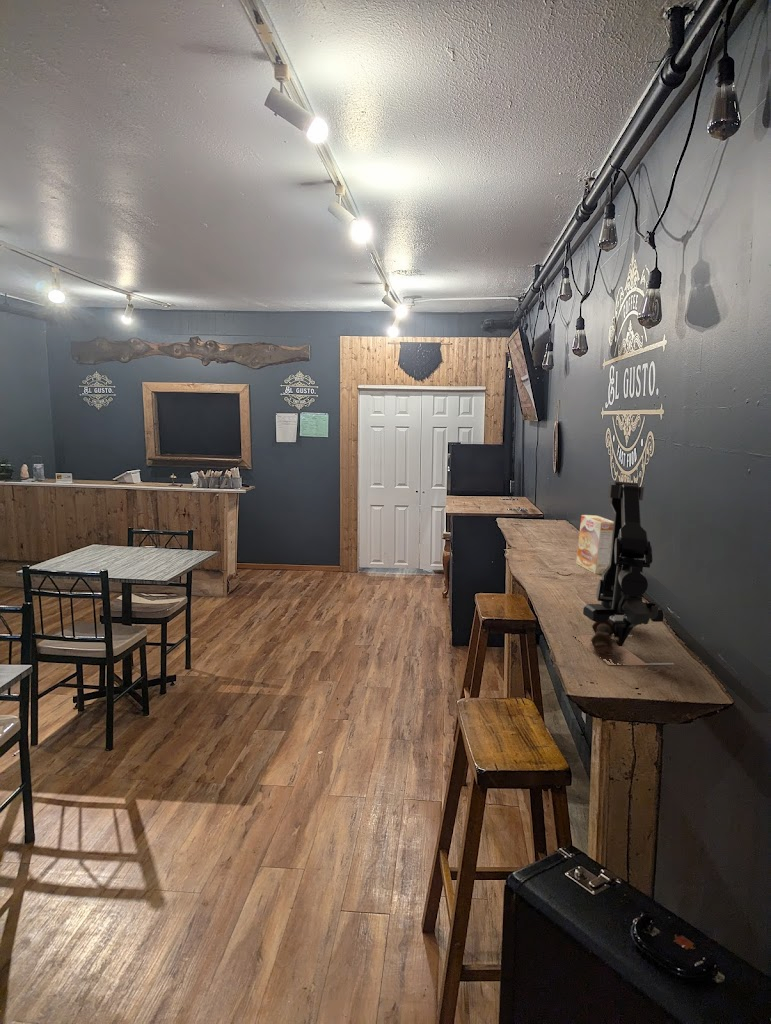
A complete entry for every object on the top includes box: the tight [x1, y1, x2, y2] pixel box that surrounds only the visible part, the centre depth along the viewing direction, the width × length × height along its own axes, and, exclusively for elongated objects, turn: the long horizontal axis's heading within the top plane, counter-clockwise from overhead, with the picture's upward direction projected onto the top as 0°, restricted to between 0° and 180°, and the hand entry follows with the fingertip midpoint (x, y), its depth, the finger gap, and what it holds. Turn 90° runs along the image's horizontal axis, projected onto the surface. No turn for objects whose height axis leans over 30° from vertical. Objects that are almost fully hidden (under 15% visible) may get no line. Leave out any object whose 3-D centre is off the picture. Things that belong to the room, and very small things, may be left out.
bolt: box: [591, 620, 614, 654], centre depth 157 cm, size 6×5×15 cm
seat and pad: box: [578, 634, 676, 666], centre depth 155 cm, size 19×17×1 cm
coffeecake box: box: [575, 514, 614, 575], centre depth 235 cm, size 15×7×20 cm, turn 10°
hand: (619, 645), depth 155 cm, fingers closed
